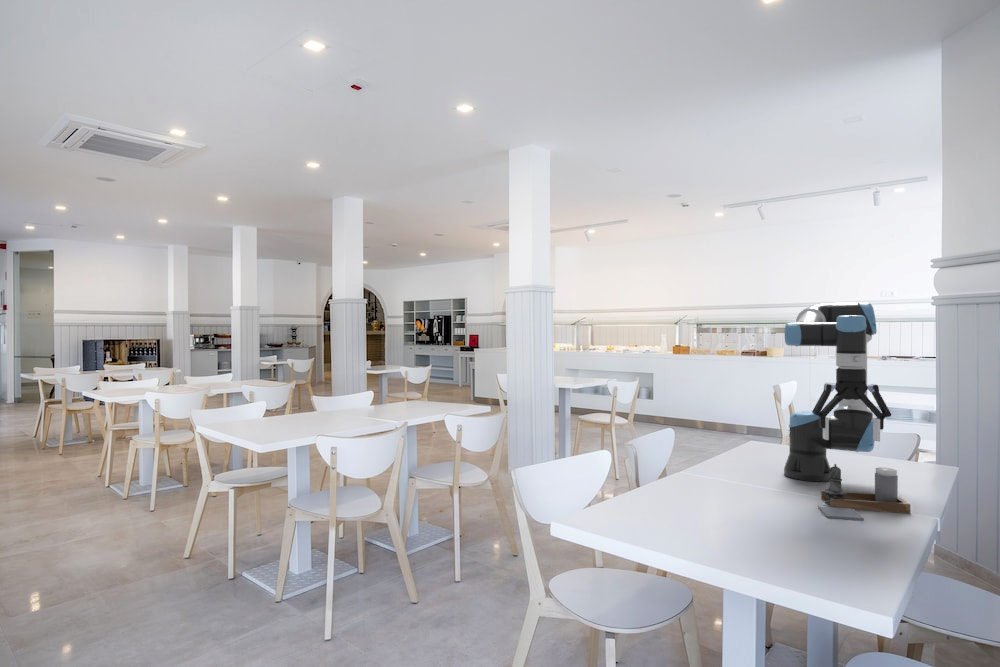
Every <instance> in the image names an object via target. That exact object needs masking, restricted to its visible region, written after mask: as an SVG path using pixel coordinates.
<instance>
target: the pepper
mask: <svg viewBox="0 0 1000 667" xmlns="http://www.w3.org/2000/svg"><path fill="white" fill-rule="evenodd" d="M898 476H899V475H898V470H897V469H894V468H890V467H879V466H878V467H875V472H874V493H875V501H881V502H897V503H898V497H899V494H898V493H899V489H898V488H899V486H898V482H899V481H898Z"/></svg>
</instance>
